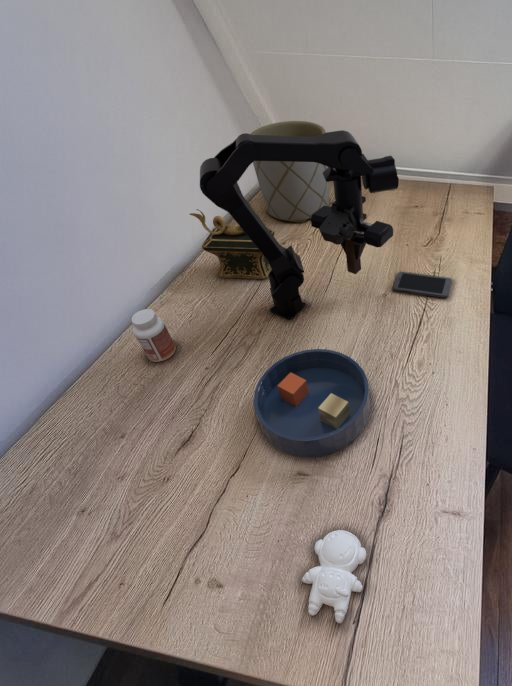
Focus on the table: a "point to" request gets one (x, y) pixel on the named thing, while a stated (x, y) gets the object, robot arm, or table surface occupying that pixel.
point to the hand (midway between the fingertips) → (353, 257)
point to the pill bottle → (153, 335)
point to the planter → (292, 177)
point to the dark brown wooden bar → (352, 257)
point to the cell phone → (422, 284)
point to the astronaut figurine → (335, 572)
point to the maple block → (334, 411)
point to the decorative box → (234, 250)
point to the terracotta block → (293, 389)
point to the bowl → (312, 403)
